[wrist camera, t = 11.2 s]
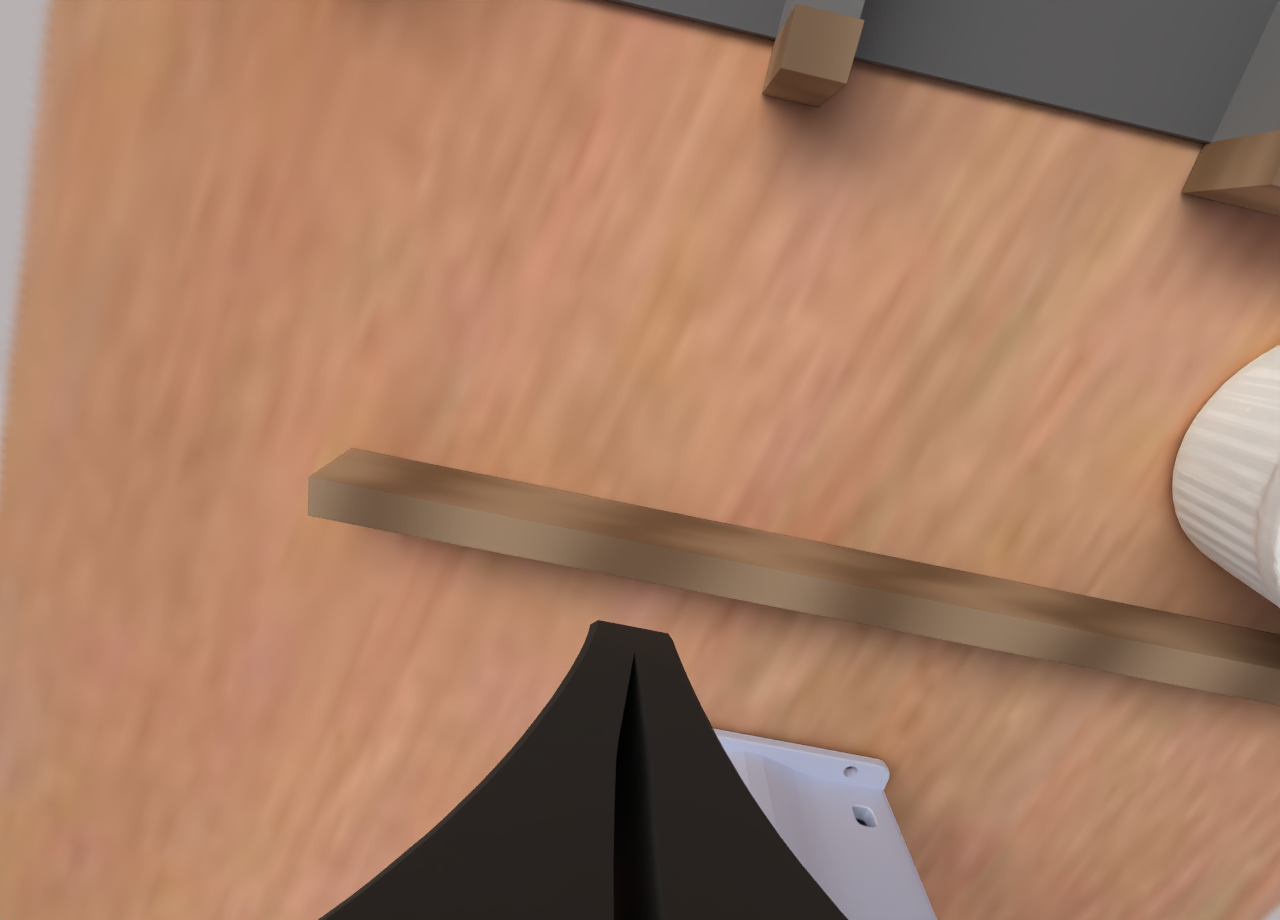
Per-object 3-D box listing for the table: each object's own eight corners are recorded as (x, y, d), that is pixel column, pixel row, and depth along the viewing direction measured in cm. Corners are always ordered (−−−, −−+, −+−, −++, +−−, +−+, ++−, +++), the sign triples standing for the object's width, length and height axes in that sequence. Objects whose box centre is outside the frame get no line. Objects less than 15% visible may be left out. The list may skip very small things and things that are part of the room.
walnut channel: (1640, 247, 16) (1888, 249, 13) (1327, 677, 21) (1451, 757, 18) (375, -56, 15) (296, -141, 12) (349, 482, 20) (287, 531, 16)
